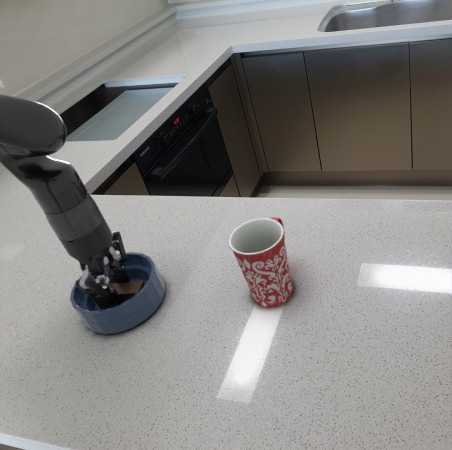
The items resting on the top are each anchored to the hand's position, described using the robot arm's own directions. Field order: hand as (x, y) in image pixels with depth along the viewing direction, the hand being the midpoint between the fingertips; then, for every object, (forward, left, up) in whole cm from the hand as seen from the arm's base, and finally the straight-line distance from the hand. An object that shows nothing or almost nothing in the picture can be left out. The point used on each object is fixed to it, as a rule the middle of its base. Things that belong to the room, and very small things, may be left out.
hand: (121, 295), depth 85 cm
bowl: (0, 0, -2) cm, 2 cm away
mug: (+17, -23, -2) cm, 29 cm away
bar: (0, 0, -2) cm, 2 cm away
